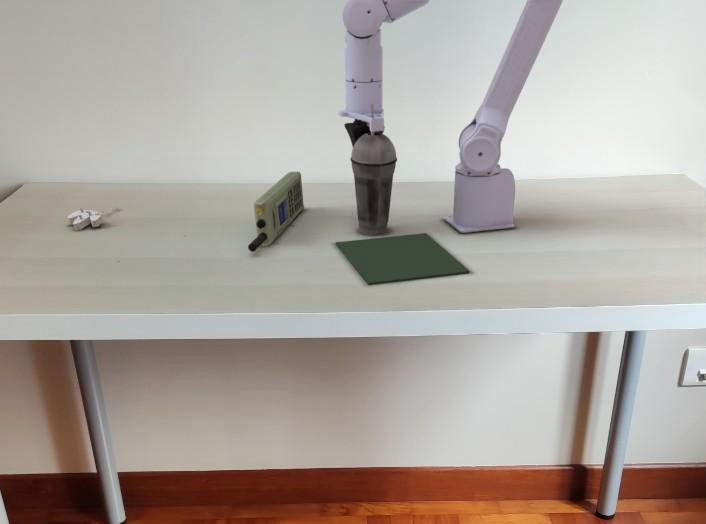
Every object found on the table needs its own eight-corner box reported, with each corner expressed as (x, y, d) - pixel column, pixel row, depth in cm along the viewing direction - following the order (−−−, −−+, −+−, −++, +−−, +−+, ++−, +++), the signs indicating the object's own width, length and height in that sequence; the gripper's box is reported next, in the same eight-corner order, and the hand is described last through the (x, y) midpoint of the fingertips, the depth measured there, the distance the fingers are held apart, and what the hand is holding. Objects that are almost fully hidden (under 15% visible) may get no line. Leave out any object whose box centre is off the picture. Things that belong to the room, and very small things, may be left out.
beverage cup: (400, 225, 134) (404, 99, 123) (387, 240, 128) (390, 109, 118) (359, 220, 136) (359, 95, 125) (344, 235, 130) (343, 105, 120)
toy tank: (63, 230, 134) (60, 215, 133) (85, 210, 144) (83, 196, 143) (97, 230, 134) (95, 214, 132) (117, 210, 144) (115, 196, 142)
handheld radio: (307, 209, 143) (263, 256, 122) (289, 209, 144) (243, 256, 123) (303, 171, 140) (258, 212, 119) (285, 171, 141) (237, 212, 119)
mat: (425, 234, 130) (425, 233, 130) (469, 272, 115) (469, 270, 115) (335, 244, 127) (335, 242, 127) (368, 284, 112) (368, 282, 112)
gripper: (327, 74, 130) (329, 160, 137) (351, 88, 118) (352, 182, 125) (369, 72, 132) (369, 157, 138) (397, 85, 120) (396, 178, 126)
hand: (364, 169), depth 132 cm, fingers closed
